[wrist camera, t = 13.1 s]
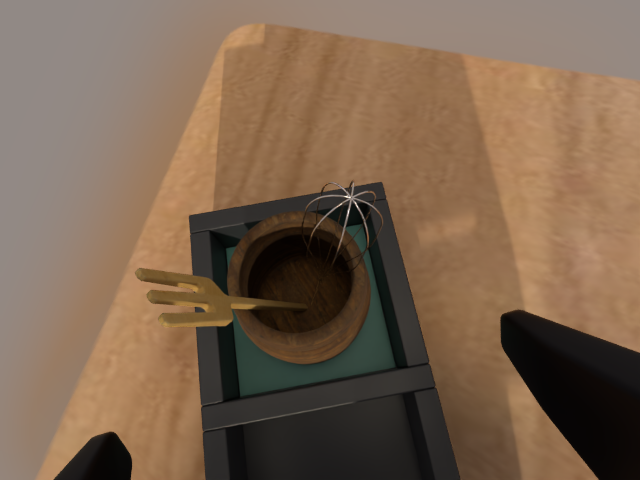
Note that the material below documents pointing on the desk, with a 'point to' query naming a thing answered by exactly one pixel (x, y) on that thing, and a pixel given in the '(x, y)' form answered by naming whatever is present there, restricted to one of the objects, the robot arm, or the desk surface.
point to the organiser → (320, 370)
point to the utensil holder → (283, 286)
